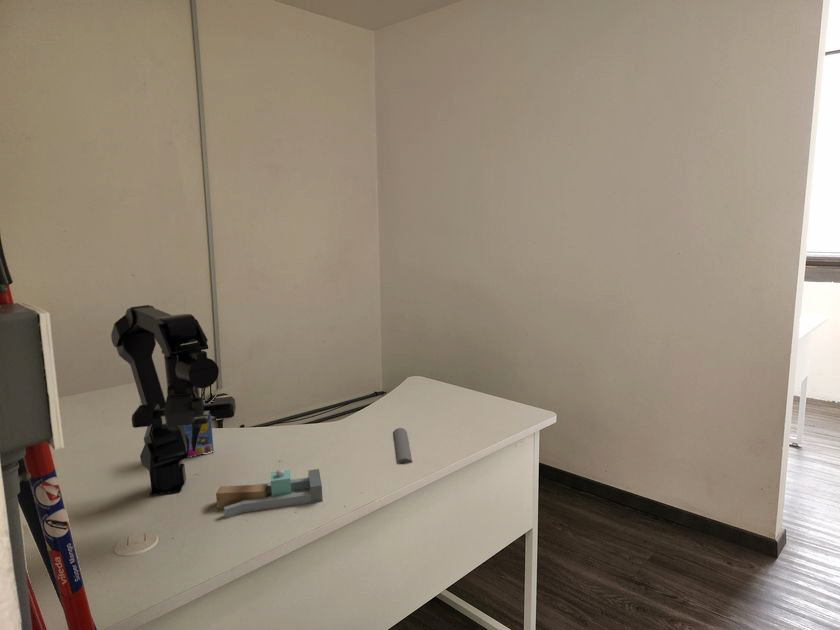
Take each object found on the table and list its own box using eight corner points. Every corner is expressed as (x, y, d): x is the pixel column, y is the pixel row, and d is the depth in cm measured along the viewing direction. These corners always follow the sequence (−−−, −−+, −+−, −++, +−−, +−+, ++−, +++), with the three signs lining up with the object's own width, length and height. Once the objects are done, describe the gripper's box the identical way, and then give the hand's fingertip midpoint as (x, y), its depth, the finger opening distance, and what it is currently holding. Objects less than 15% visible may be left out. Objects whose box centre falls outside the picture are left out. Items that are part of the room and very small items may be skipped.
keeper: (272, 502, 115) (270, 476, 114) (272, 492, 119) (270, 468, 118) (291, 499, 116) (289, 474, 115) (291, 490, 120) (289, 465, 119)
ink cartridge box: (173, 461, 136) (167, 406, 133) (172, 453, 141) (166, 400, 138) (215, 453, 140) (210, 399, 138) (212, 445, 145) (207, 393, 143)
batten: (217, 508, 114) (216, 493, 113) (221, 501, 117) (220, 486, 116) (265, 506, 114) (264, 491, 114) (268, 499, 117) (267, 484, 116)
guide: (223, 518, 110) (222, 502, 109) (228, 493, 119) (226, 478, 119) (323, 503, 114) (322, 488, 114) (319, 480, 124) (318, 466, 124)
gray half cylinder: (407, 433, 152) (407, 427, 152) (413, 464, 133) (413, 457, 132) (392, 434, 152) (392, 428, 151) (396, 465, 132) (395, 458, 132)
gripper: (119, 395, 98) (129, 475, 101) (228, 385, 102) (234, 462, 105) (134, 377, 109) (143, 450, 111) (232, 369, 113) (238, 439, 116)
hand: (189, 451), depth 111 cm, fingers closed
